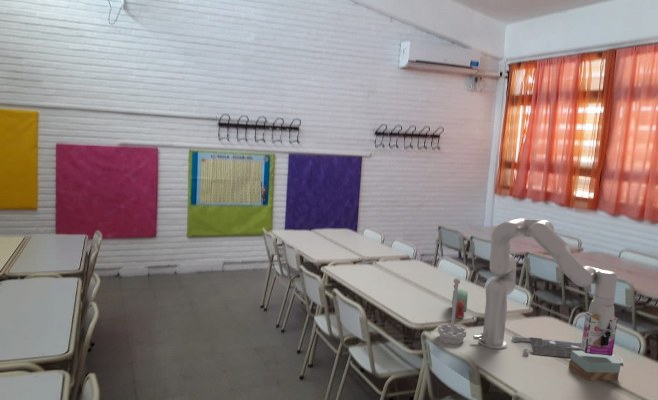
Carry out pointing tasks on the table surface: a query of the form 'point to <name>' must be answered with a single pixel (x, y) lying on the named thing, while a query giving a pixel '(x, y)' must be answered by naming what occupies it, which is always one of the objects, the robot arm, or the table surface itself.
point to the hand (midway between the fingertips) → (598, 341)
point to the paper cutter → (553, 347)
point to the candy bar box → (596, 336)
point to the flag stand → (452, 324)
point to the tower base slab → (592, 373)
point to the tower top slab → (595, 362)
